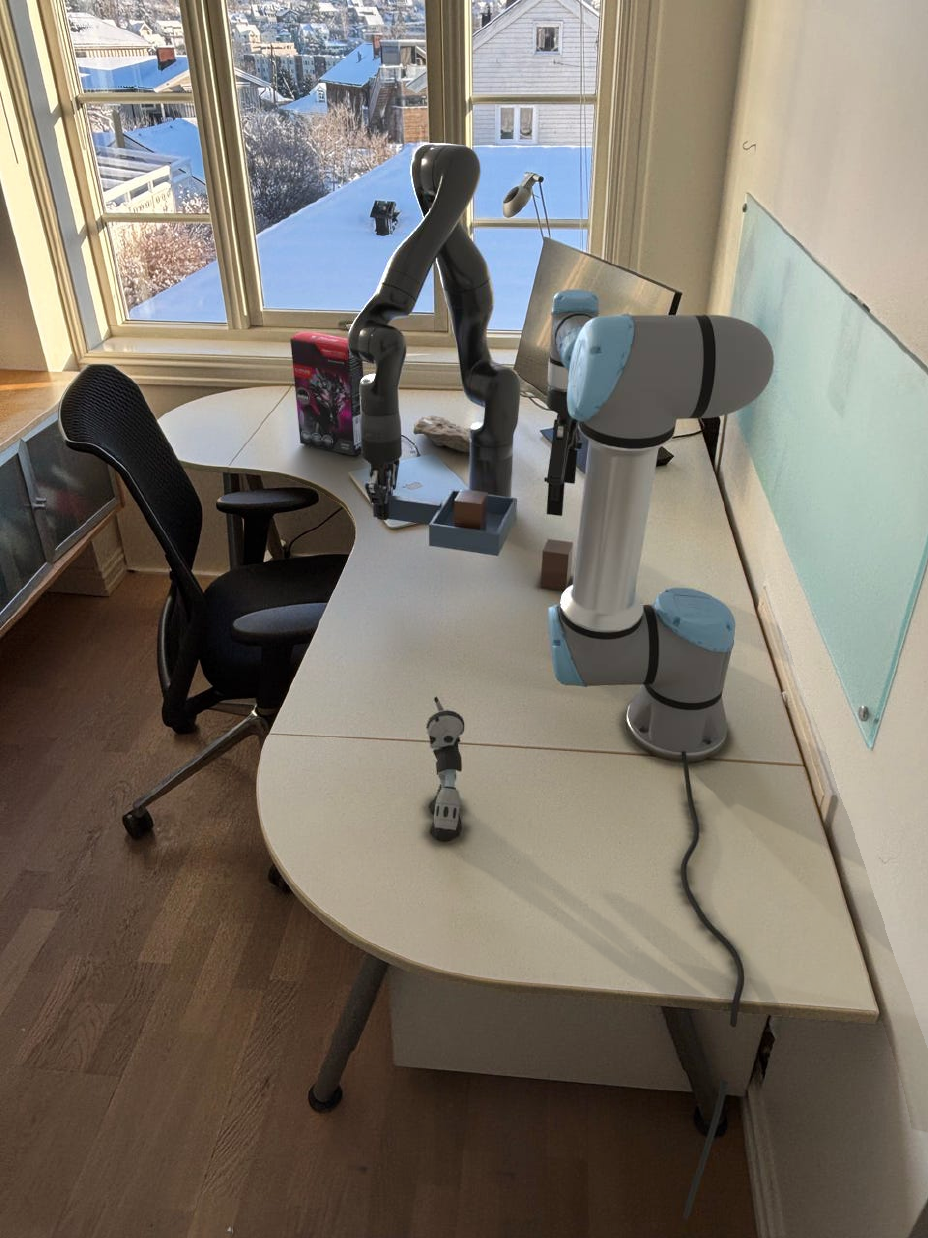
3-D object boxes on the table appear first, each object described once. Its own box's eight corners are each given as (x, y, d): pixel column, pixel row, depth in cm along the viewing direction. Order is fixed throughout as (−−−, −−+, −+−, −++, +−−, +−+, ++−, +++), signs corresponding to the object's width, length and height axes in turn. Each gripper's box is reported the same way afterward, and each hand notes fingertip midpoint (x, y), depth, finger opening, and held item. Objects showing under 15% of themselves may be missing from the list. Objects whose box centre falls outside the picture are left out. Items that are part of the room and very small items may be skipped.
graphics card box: (297, 444, 233) (287, 336, 218) (313, 435, 239) (304, 329, 223) (354, 457, 227) (347, 347, 212) (369, 447, 232) (364, 339, 217)
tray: (498, 556, 168) (499, 532, 166) (361, 535, 174) (359, 512, 171) (516, 518, 181) (517, 495, 178) (387, 500, 186) (386, 478, 183)
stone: (397, 439, 228) (402, 416, 226) (416, 430, 242) (421, 408, 239) (477, 464, 225) (483, 440, 222) (491, 454, 238) (497, 431, 236)
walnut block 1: (479, 543, 170) (481, 504, 166) (453, 539, 171) (454, 500, 167) (486, 530, 174) (487, 492, 170) (460, 527, 175) (461, 488, 171)
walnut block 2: (565, 590, 177) (568, 554, 172) (540, 587, 178) (542, 551, 173) (570, 577, 181) (573, 542, 176) (545, 574, 182) (547, 538, 177)
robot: (467, 874, 119) (468, 759, 108) (429, 876, 119) (427, 760, 108) (460, 769, 135) (460, 659, 124) (426, 770, 135) (424, 660, 124)
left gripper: (387, 449, 163) (391, 535, 173) (411, 421, 174) (413, 503, 184) (348, 444, 165) (353, 530, 175) (374, 417, 176) (378, 499, 186)
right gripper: (579, 414, 147) (569, 531, 158) (601, 364, 167) (591, 472, 178) (533, 409, 148) (527, 525, 160) (560, 360, 168) (553, 467, 180)
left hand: (384, 516), depth 179 cm, fingers closed on tray, 1 cm apart
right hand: (561, 497), depth 169 cm, fingers open, 13 cm apart
